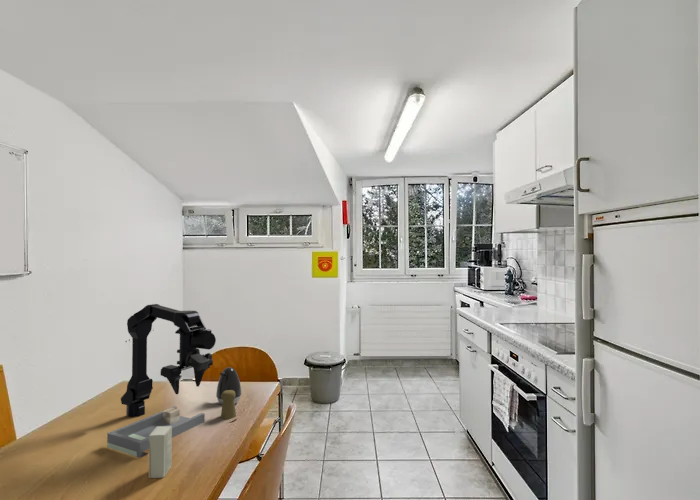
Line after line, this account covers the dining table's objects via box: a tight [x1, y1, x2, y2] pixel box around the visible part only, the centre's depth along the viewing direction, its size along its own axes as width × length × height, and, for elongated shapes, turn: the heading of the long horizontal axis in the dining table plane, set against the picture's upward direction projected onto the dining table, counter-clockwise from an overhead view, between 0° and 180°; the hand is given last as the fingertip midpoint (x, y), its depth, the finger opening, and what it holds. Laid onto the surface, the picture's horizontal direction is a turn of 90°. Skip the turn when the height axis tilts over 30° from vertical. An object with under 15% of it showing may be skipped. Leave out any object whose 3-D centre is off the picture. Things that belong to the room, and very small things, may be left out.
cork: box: [220, 390, 237, 424], centre depth 153 cm, size 6×6×11 cm
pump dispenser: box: [215, 366, 242, 405], centre depth 170 cm, size 10×10×15 cm
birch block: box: [162, 407, 181, 424], centre depth 148 cm, size 4×4×4 cm
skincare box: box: [148, 426, 173, 479], centre depth 116 cm, size 6×4×12 cm
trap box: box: [106, 406, 206, 459], centre depth 139 cm, size 16×26×4 cm, turn 154°
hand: (187, 390), depth 145 cm, fingers open, 9 cm apart
